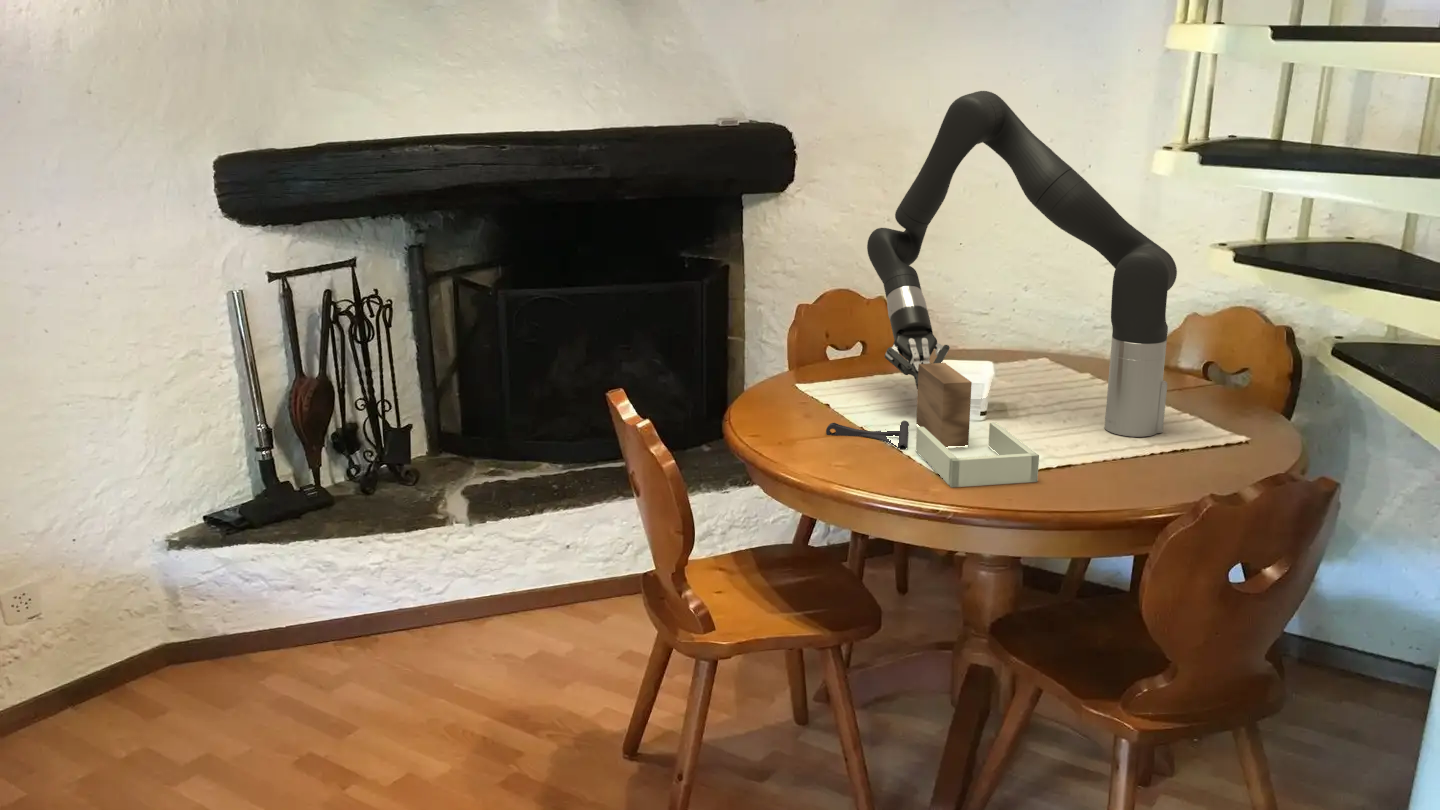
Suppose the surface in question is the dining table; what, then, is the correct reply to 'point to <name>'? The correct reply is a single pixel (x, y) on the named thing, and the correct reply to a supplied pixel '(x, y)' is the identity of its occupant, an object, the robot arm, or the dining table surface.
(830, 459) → the dining table surface
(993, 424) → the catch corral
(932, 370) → the walnut board
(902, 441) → the dark grey t-shaped piece
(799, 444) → the dining table surface
